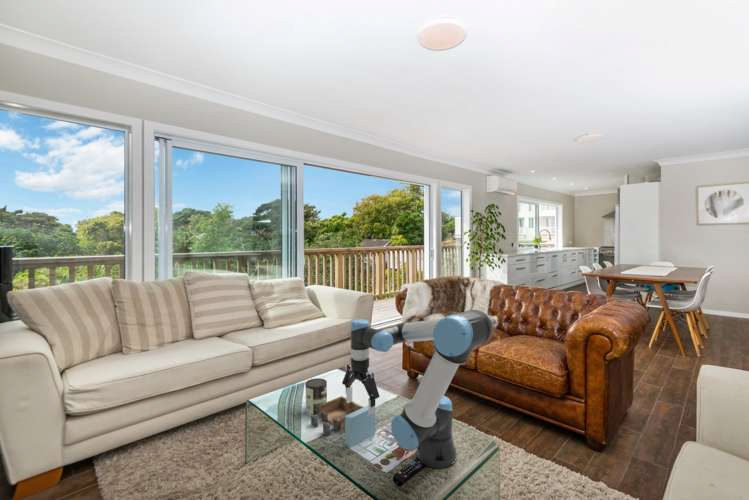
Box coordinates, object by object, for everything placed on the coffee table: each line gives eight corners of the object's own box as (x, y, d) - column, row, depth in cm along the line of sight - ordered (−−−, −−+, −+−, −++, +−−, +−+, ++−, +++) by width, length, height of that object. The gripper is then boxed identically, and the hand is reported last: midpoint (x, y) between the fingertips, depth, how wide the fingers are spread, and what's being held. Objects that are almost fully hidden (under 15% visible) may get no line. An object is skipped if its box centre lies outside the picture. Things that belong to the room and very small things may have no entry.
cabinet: (365, 420, 166) (365, 407, 166) (331, 437, 153) (331, 423, 152) (341, 408, 179) (341, 396, 178) (308, 422, 165) (308, 409, 165)
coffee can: (330, 406, 180) (329, 378, 179) (323, 417, 170) (322, 387, 169) (310, 405, 182) (309, 377, 181) (302, 415, 172) (301, 385, 171)
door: (369, 431, 158) (369, 404, 157) (375, 434, 155) (375, 406, 155) (344, 444, 148) (344, 415, 147) (350, 447, 146) (350, 418, 145)
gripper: (388, 363, 144) (388, 415, 145) (347, 348, 161) (347, 394, 163) (374, 368, 138) (374, 422, 140) (334, 352, 156) (334, 400, 157)
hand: (360, 407), depth 151 cm, fingers open, 13 cm apart
